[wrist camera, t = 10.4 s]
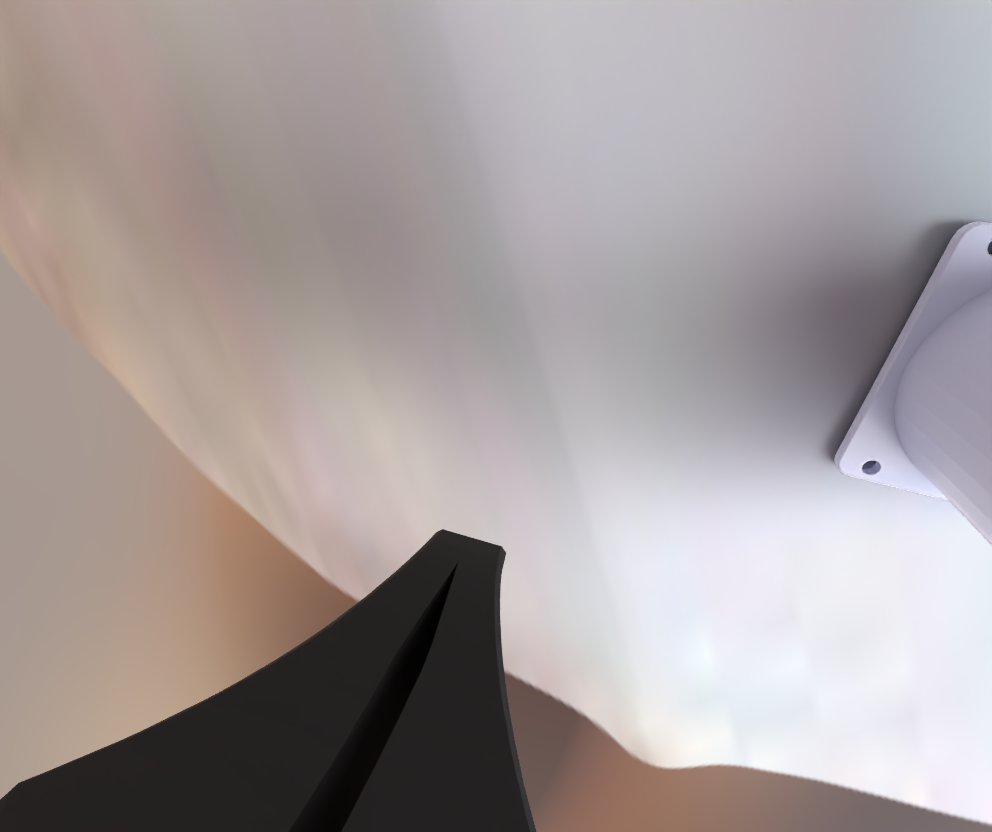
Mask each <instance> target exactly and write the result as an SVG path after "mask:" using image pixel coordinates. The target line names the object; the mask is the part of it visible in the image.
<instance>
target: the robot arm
mask: <svg viewBox="0 0 992 832" xmlns="http://www.w3.org/2000/svg"><path fill="white" fill-rule="evenodd" d="M991 241H992V223H988V222H972V223H969V224H966V225H964V226H963V227H961V228H960V229H958V230H957V232H956V233H955V234H954V235H953V237H952V238H951V240H950V242H949V244H948V246H947V248H946V250H945V251H944V253H943V255H942V257H941V259H940V261H939V263H938V264H937V266H936V268H935V270H934V272H933V274H932V276H931V278H930V279H929V281H928V283H927V285H926V287H925V289H924V291H923V292H922V294H921V296H920V298H919V300H918V302H917V304H916V305H915V307H914V309H913V311H912V313H911V315H910V317H909V319H908V320H907V322H906V324H905V326H904V328H903V330H902V332H901V333H900V335H899V337H898V339H897V341H896V343H895V345H894V347H893V348H892V350H891V352H890V354H889V356H888V358H887V360H886V361H885V363H884V365H883V367H882V369H881V371H880V373H879V374H878V376H877V378H876V380H875V382H874V384H873V386H872V388H871V389H870V391H869V393H868V395H867V397H866V399H865V401H864V402H863V404H862V406H861V408H860V410H859V412H858V414H857V415H856V417H855V419H854V421H853V423H852V425H851V427H850V429H849V430H848V432H847V434H846V436H845V438H844V440H843V442H842V443H841V445H840V447H839V449H838V451H837V453H836V455H835V458H834V461H835V465H836V466H837V468H838V469H839V470H840V472H841V473H843V474H845V475H847V476H851V477H855V478H859V479H863V480H867V481H871V482H875V483H879V484H882V485H886V486H890V487H894V488H898V489H902V490H906V491H910V492H914V493H918V494H922V495H926V496H930V497H934V498H938V499H942V500H946V501H950V502H951V503H952V505H953V506H954V507H955V508H956V509H957V510H958V511H959V512H960V513H961V514H962V515H963V516H964V517H965V518H966V519H967V520H968V521H969V522H970V523H971V524H972V525H973V527H974V528H975V529H976V530H977V531H978V532H979V533H980V534H981V535H982V536H983V537H984V538H985V539H986V540H987V541H988V542H989V543H990V544H991V545H992V254H989V253H988V250H987V249H988V245H989V243H990V242H991ZM868 461H876V463H875V465H874V466H873V467H871V468H868V469H863V468H862V466H863V465H864V464H865V463H866V462H868ZM505 556H506V552H505V551H504V549H503V548H502V546H498V545H495V544H491V543H488V542H484V541H481V540H477V539H474V538H471V537H467V536H464V535H460V534H457V533H453V532H450V531H447V530H443V529H442V530H440V531H438V532H436V533H435V534H434V535H433V537H432V538H431V539H430V540H429V541H428V542H427V543H426V544H425V545H424V546H423V547H422V548H421V549H420V550H419V551H418V552H417V553H416V554H414V555H413V556H412V557H411V558H410V559H409V560H408V561H407V562H406V563H405V564H404V565H403V566H401V567H400V568H399V569H398V570H397V571H396V572H395V573H393V574H392V575H391V576H390V577H389V578H388V579H386V580H385V581H384V582H383V583H382V584H380V585H379V586H378V587H377V588H376V589H375V590H373V591H372V592H371V593H370V594H369V595H367V596H366V597H365V598H364V599H362V600H361V601H360V602H358V603H357V604H356V605H354V606H353V607H352V608H350V609H349V610H348V611H346V612H345V613H344V614H342V615H341V616H340V617H338V618H337V619H336V620H335V621H333V622H332V623H331V624H329V625H328V626H326V627H325V628H323V629H322V630H321V631H319V632H318V633H317V634H315V635H313V636H312V637H310V638H309V639H308V640H306V641H305V642H303V643H301V644H300V645H298V646H297V647H295V648H294V649H292V650H291V651H289V652H287V653H286V654H284V655H283V656H281V657H280V658H278V659H276V660H275V661H273V662H271V663H270V664H268V665H266V666H265V667H263V668H261V669H259V670H258V671H256V672H254V673H253V674H251V675H249V676H247V677H246V678H244V679H242V680H241V681H239V682H237V683H235V684H234V685H232V686H230V687H228V688H226V689H224V690H223V691H221V692H219V693H217V694H215V695H213V696H211V697H209V698H208V699H206V700H204V701H202V702H200V703H198V704H196V705H193V706H191V707H189V708H187V709H185V710H183V711H181V712H179V713H177V714H175V715H173V716H171V717H169V718H167V719H165V720H163V721H161V722H159V723H157V724H155V725H153V726H151V727H149V728H147V729H145V730H143V731H141V732H138V733H136V734H134V735H132V736H129V737H127V738H125V739H123V740H121V741H119V742H116V743H114V744H111V745H109V746H107V747H104V748H102V749H100V750H97V751H95V752H92V753H90V754H88V755H85V756H83V757H80V758H78V759H76V760H73V761H71V762H69V763H66V764H64V765H62V766H59V767H57V768H54V769H52V770H50V771H47V772H45V773H42V774H40V775H37V776H35V777H32V778H30V779H28V780H25V781H22V782H20V783H18V784H17V785H16V786H15V787H14V788H13V789H12V790H11V791H9V792H8V794H6V795H5V796H4V797H3V798H2V799H1V800H0V832H536V829H535V825H534V821H533V818H532V814H531V810H530V806H529V803H528V799H527V795H526V791H525V787H524V783H523V778H522V774H521V769H520V764H519V759H518V755H517V750H516V745H515V740H514V734H513V729H512V724H511V718H510V712H509V706H508V699H507V692H506V684H505V676H504V667H503V657H502V646H501V627H500V584H501V574H502V569H503V564H504V560H505Z"/></svg>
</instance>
